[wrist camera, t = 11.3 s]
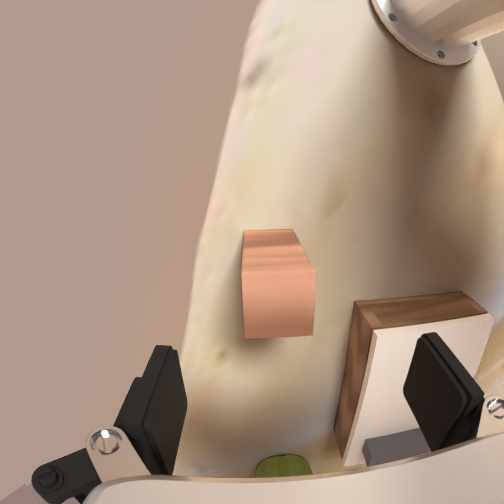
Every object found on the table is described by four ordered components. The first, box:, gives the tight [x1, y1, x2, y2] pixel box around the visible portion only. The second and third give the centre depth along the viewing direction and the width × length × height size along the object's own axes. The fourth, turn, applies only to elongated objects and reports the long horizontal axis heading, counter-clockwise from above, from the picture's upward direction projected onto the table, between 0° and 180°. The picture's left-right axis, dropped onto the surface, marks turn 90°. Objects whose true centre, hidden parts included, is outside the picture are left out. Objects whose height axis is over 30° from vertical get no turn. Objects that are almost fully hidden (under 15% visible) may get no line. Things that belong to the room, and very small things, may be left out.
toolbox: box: [334, 291, 488, 459], centre depth 29 cm, size 18×13×5 cm
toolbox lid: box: [342, 313, 495, 467], centre depth 25 cm, size 18×13×4 cm
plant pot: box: [255, 455, 313, 478], centre depth 31 cm, size 12×12×11 cm
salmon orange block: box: [241, 229, 316, 339], centre depth 22 cm, size 4×4×10 cm
